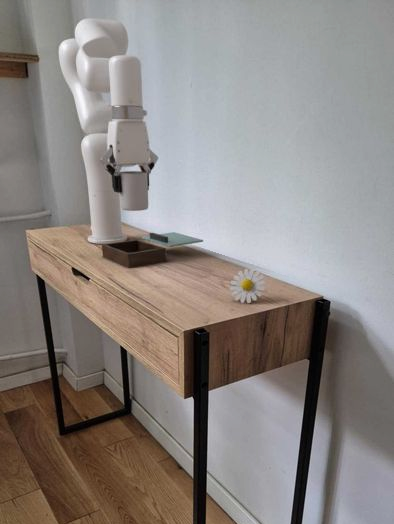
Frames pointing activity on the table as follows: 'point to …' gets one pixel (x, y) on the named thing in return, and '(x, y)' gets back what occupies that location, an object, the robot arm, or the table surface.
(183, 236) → the glass top
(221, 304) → the table surface
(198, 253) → the table surface
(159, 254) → the case
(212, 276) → the table surface
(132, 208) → the cup
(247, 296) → the decorative flower
